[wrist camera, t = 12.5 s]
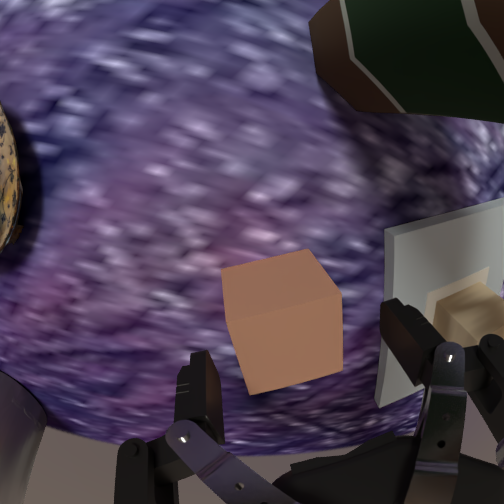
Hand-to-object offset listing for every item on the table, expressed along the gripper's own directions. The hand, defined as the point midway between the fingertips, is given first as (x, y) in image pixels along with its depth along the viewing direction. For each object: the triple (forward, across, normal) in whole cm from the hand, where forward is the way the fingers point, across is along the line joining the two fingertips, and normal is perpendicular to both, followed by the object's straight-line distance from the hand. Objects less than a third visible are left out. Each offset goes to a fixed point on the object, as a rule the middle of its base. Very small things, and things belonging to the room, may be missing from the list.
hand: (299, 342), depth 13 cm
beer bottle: (+6, -8, -12) cm, 15 cm away
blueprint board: (+5, -13, +7) cm, 16 cm away
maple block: (+4, -14, +7) cm, 16 cm away
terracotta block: (+5, 0, +1) cm, 5 cm away
